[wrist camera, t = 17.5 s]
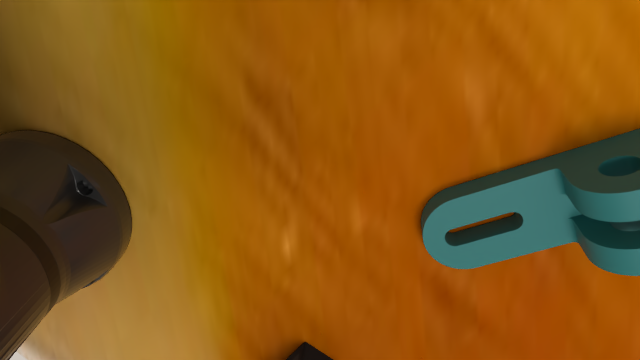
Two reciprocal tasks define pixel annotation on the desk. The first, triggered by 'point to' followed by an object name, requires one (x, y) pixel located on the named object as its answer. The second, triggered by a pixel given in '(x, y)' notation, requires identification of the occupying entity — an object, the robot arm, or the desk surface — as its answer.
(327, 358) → the digital camera
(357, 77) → the desk surface
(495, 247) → the bracket
